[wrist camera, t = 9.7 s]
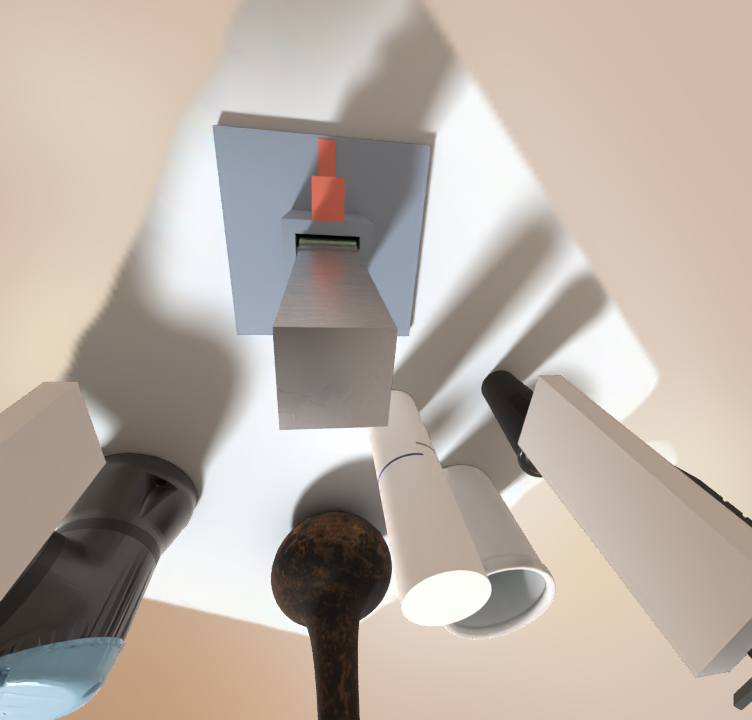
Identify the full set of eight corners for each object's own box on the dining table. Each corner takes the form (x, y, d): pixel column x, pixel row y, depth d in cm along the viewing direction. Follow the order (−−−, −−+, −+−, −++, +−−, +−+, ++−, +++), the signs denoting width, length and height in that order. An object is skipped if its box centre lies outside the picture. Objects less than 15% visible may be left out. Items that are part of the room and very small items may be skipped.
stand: (239, 330, 41) (213, 376, 31) (216, 126, 32) (170, 103, 22) (406, 332, 44) (430, 375, 34) (427, 146, 35) (468, 133, 25)
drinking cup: (463, 403, 50) (539, 523, 33) (484, 356, 47) (582, 461, 30) (508, 412, 52) (604, 530, 34) (532, 367, 49) (651, 472, 31)
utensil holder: (474, 445, 54) (535, 550, 39) (508, 498, 61) (571, 606, 45) (393, 490, 56) (420, 607, 41) (434, 536, 63) (471, 652, 47)
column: (303, 281, 32) (275, 433, 13) (302, 232, 30) (267, 322, 11) (350, 283, 33) (391, 429, 13) (352, 234, 31) (402, 323, 12)
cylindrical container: (366, 390, 47) (406, 575, 25) (418, 389, 48) (500, 565, 26) (364, 433, 50) (397, 630, 28) (412, 431, 51) (481, 620, 29)
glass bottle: (278, 570, 61) (248, 833, 36) (274, 495, 53) (232, 767, 29) (379, 562, 64) (415, 802, 39) (389, 490, 56) (442, 734, 31)
